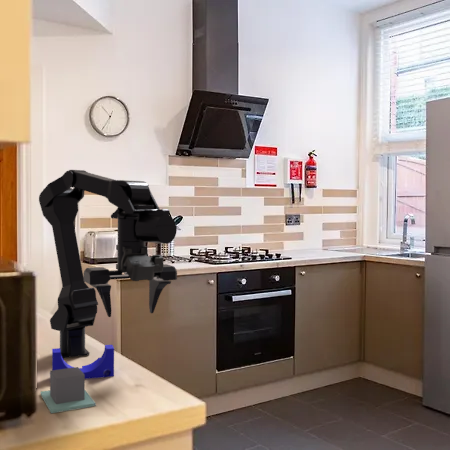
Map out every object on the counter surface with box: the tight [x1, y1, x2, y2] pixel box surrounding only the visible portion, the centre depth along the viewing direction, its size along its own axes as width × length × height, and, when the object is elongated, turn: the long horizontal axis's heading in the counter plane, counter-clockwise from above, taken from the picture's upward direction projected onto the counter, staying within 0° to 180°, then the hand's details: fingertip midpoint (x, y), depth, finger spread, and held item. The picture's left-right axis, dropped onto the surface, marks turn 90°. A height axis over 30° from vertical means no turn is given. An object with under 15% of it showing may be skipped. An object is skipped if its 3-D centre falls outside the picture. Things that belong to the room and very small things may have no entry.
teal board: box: [40, 389, 97, 414], centre depth 99 cm, size 10×8×1 cm
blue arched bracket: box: [51, 344, 115, 380], centre depth 113 cm, size 12×4×6 cm, turn 109°
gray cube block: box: [49, 366, 86, 404], centre depth 99 cm, size 5×5×4 cm
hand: (130, 314), depth 116 cm, fingers open, 9 cm apart
